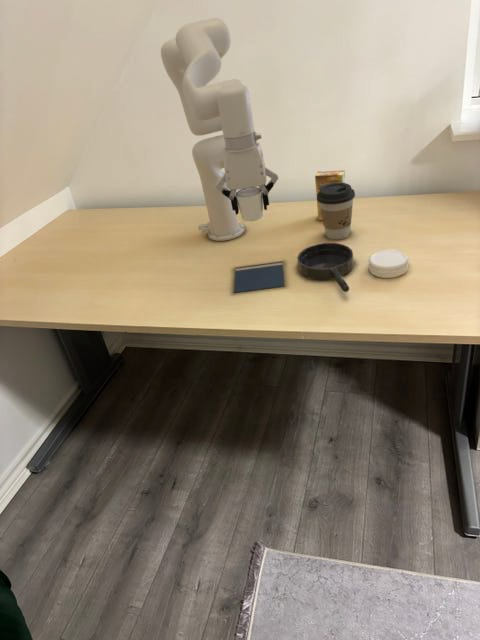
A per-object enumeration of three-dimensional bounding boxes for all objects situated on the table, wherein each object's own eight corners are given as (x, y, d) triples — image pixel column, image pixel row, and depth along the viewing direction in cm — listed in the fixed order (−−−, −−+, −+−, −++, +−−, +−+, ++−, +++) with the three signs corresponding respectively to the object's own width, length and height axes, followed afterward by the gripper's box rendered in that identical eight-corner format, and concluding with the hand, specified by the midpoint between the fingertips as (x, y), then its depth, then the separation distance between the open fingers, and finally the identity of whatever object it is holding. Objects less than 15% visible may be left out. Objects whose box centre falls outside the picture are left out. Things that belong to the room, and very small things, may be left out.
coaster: (392, 256, 139) (392, 245, 137) (415, 270, 131) (416, 259, 129) (361, 267, 137) (361, 256, 135) (383, 283, 129) (383, 271, 127)
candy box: (318, 220, 166) (314, 175, 158) (320, 215, 169) (317, 171, 161) (344, 220, 163) (342, 174, 154) (347, 214, 166) (344, 169, 158)
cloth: (234, 293, 137) (233, 292, 137) (235, 268, 149) (235, 267, 148) (284, 286, 135) (284, 285, 135) (282, 262, 147) (282, 261, 147)
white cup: (264, 209, 134) (260, 184, 130) (266, 219, 129) (262, 194, 125) (239, 214, 135) (234, 189, 131) (240, 224, 129) (235, 198, 125)
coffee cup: (339, 246, 149) (337, 198, 141) (312, 237, 157) (307, 191, 148) (364, 231, 154) (363, 184, 146) (336, 223, 162) (333, 178, 154)
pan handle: (329, 272, 133) (329, 266, 132) (336, 271, 134) (335, 265, 133) (343, 293, 124) (342, 287, 123) (350, 292, 124) (350, 286, 123)
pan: (300, 283, 135) (299, 272, 133) (296, 257, 148) (295, 247, 146) (357, 276, 134) (357, 265, 132) (348, 250, 146) (348, 239, 144)
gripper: (275, 131, 123) (283, 199, 133) (206, 142, 125) (219, 209, 135) (276, 139, 117) (285, 210, 127) (203, 151, 119) (218, 220, 129)
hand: (251, 209), depth 131 cm, fingers closed on white cup, 6 cm apart
